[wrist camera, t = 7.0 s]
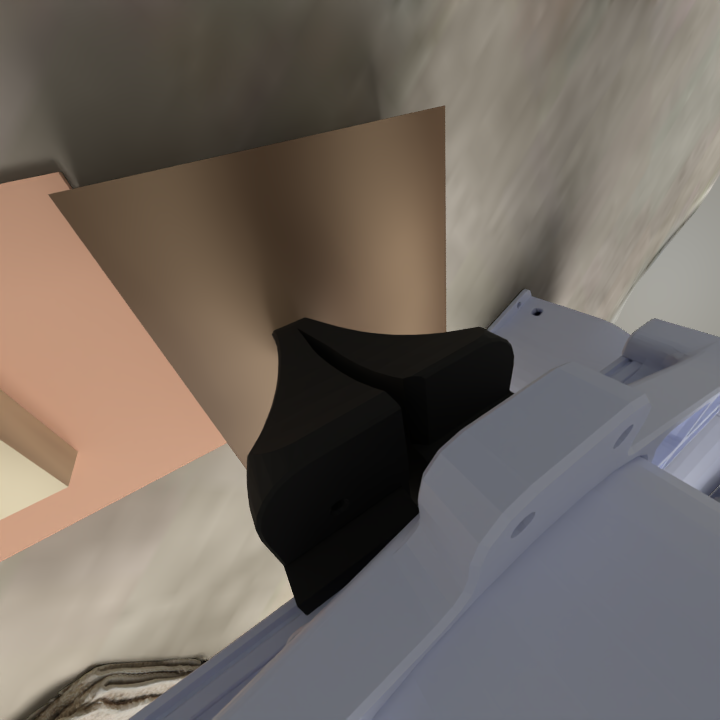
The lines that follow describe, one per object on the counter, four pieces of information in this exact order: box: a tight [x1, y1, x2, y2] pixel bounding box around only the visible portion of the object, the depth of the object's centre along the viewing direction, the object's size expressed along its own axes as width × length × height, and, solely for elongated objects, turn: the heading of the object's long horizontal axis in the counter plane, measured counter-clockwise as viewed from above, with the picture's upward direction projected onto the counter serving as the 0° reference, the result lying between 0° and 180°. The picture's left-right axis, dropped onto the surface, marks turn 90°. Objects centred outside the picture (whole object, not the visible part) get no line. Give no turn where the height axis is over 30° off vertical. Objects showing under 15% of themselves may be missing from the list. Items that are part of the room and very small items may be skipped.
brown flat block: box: [48, 106, 446, 470], centre depth 14 cm, size 12×12×4 cm
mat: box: [0, 172, 227, 562], centre depth 11 cm, size 12×13×1 cm
